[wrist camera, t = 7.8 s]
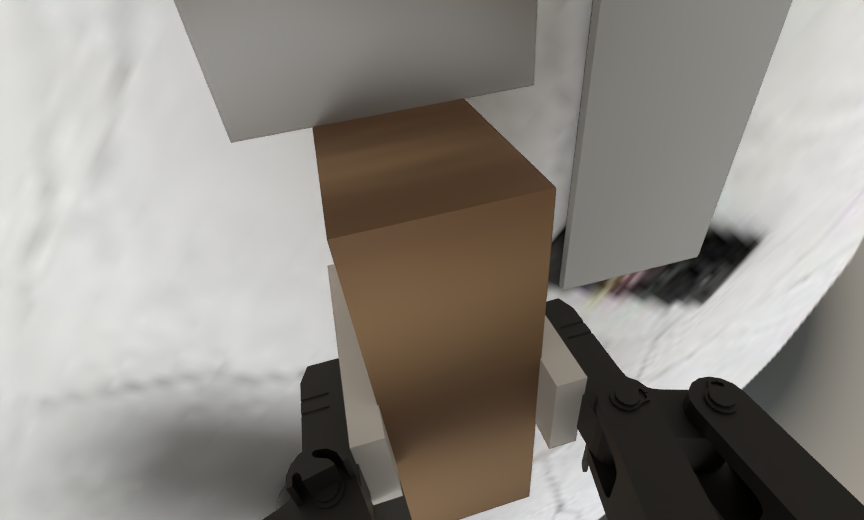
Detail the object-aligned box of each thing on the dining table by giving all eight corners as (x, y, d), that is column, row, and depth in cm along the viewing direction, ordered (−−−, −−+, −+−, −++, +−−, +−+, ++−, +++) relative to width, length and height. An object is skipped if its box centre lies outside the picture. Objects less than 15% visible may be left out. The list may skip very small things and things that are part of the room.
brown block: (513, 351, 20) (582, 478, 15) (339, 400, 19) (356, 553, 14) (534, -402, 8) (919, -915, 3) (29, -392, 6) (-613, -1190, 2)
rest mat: (691, 251, 31) (697, 256, 30) (559, 284, 30) (563, 290, 29) (878, -276, 16) (896, -282, 15) (623, -256, 14) (634, -261, 14)
